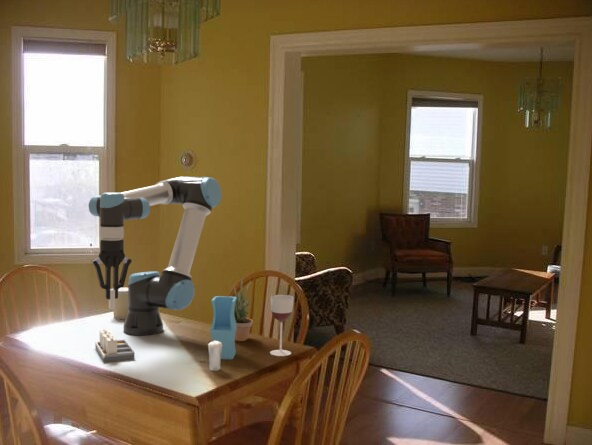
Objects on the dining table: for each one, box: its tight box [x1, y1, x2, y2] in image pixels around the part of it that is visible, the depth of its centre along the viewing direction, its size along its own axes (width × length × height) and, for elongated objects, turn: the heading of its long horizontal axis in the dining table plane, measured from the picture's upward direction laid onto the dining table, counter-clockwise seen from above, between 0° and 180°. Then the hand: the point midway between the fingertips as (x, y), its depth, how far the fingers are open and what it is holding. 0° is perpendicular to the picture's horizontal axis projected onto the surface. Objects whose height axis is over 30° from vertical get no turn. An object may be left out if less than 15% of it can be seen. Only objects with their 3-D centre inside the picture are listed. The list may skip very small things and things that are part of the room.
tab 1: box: [99, 328, 111, 346], centre depth 216 cm, size 3×4×5 cm
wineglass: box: [269, 294, 295, 357], centre depth 219 cm, size 8×9×20 cm
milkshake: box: [205, 339, 222, 372], centre depth 199 cm, size 4×5×10 cm
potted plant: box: [230, 276, 254, 342], centre depth 235 cm, size 10×10×25 cm
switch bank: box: [94, 339, 135, 363], centre depth 213 cm, size 10×17×2 cm, turn 26°
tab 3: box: [106, 336, 118, 354], centre depth 207 cm, size 3×4×5 cm
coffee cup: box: [112, 286, 129, 320], centre depth 265 cm, size 9×9×12 cm
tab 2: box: [102, 333, 114, 350], centre depth 211 cm, size 3×4×5 cm
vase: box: [209, 295, 237, 360], centre depth 214 cm, size 8×8×20 cm
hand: (111, 308), depth 209 cm, fingers closed
